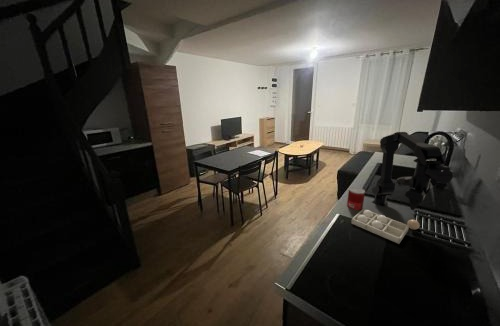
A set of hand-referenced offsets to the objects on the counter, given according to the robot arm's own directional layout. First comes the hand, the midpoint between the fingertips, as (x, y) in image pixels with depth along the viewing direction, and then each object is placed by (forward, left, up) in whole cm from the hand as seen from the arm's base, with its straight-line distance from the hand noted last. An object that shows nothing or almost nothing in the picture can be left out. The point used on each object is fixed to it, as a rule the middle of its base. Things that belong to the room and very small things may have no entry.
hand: (414, 206), depth 94 cm
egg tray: (+10, -10, -12) cm, 18 cm away
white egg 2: (+6, -17, -12) cm, 21 cm away
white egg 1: (+13, -17, -12) cm, 24 cm away
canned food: (-1, -26, -12) cm, 29 cm away
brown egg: (-1, +1, -12) cm, 12 cm away
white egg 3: (+13, -10, -12) cm, 20 cm away
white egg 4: (+6, -10, -12) cm, 17 cm away
